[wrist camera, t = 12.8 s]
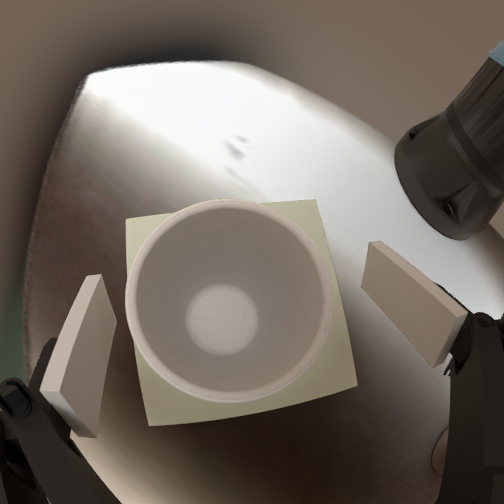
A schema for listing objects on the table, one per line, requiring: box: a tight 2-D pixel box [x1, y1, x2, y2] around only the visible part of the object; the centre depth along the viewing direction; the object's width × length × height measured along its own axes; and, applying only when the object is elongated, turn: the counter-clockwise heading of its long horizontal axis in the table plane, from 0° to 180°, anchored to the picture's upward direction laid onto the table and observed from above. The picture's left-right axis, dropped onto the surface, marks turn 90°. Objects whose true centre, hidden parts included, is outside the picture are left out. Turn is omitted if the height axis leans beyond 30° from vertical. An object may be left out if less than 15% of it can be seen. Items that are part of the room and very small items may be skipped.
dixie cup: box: [125, 199, 333, 404], centre depth 15 cm, size 8×8×10 cm
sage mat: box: [126, 199, 358, 426], centre depth 21 cm, size 16×16×1 cm
